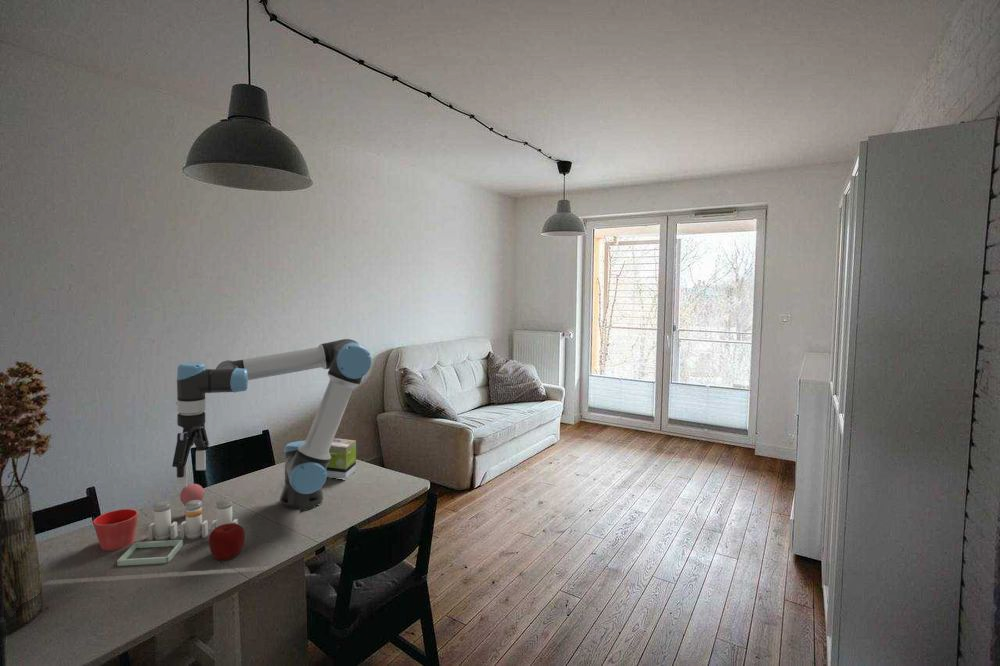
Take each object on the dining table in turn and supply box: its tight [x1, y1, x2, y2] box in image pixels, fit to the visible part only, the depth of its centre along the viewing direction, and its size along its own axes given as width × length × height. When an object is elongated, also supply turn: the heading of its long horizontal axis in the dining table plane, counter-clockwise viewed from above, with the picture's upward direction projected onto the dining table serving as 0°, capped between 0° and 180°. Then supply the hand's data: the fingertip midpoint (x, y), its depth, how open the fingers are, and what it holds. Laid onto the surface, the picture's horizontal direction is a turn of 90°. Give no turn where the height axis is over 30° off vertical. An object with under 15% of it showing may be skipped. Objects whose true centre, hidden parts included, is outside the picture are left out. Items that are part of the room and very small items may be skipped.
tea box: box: [326, 437, 357, 479], centre depth 218 cm, size 15×10×15 cm
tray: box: [116, 540, 184, 567], centre depth 152 cm, size 13×10×2 cm
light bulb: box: [179, 483, 205, 507], centre depth 176 cm, size 7×7×12 cm
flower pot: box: [92, 508, 139, 551], centre depth 157 cm, size 11×11×10 cm
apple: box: [208, 523, 246, 561], centre depth 153 cm, size 10×10×10 cm
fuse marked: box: [184, 500, 203, 540], centre depth 163 cm, size 5×5×11 cm
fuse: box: [152, 500, 172, 541], centre depth 161 cm, size 4×4×11 cm
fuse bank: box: [144, 518, 239, 544], centre depth 163 cm, size 27×8×6 cm, turn 101°
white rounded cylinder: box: [215, 498, 234, 527], centre depth 164 cm, size 4×4×11 cm
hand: (191, 477), depth 162 cm, fingers open, 13 cm apart
